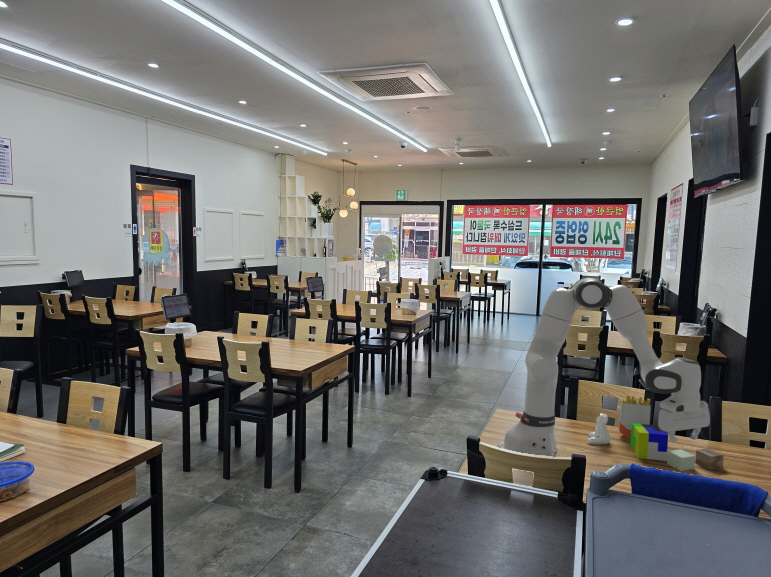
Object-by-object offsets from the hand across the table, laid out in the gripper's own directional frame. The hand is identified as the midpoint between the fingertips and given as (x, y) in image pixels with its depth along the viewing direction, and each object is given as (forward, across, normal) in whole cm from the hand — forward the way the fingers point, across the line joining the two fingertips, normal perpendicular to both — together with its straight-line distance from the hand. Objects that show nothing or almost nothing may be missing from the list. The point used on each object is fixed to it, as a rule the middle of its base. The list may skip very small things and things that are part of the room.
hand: (683, 440), depth 182 cm
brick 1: (+10, 0, 0) cm, 10 cm away
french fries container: (+10, -4, -27) cm, 29 cm away
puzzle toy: (+10, +4, -12) cm, 16 cm away
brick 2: (+10, -10, +2) cm, 15 cm away
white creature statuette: (+10, +14, -27) cm, 32 cm away
